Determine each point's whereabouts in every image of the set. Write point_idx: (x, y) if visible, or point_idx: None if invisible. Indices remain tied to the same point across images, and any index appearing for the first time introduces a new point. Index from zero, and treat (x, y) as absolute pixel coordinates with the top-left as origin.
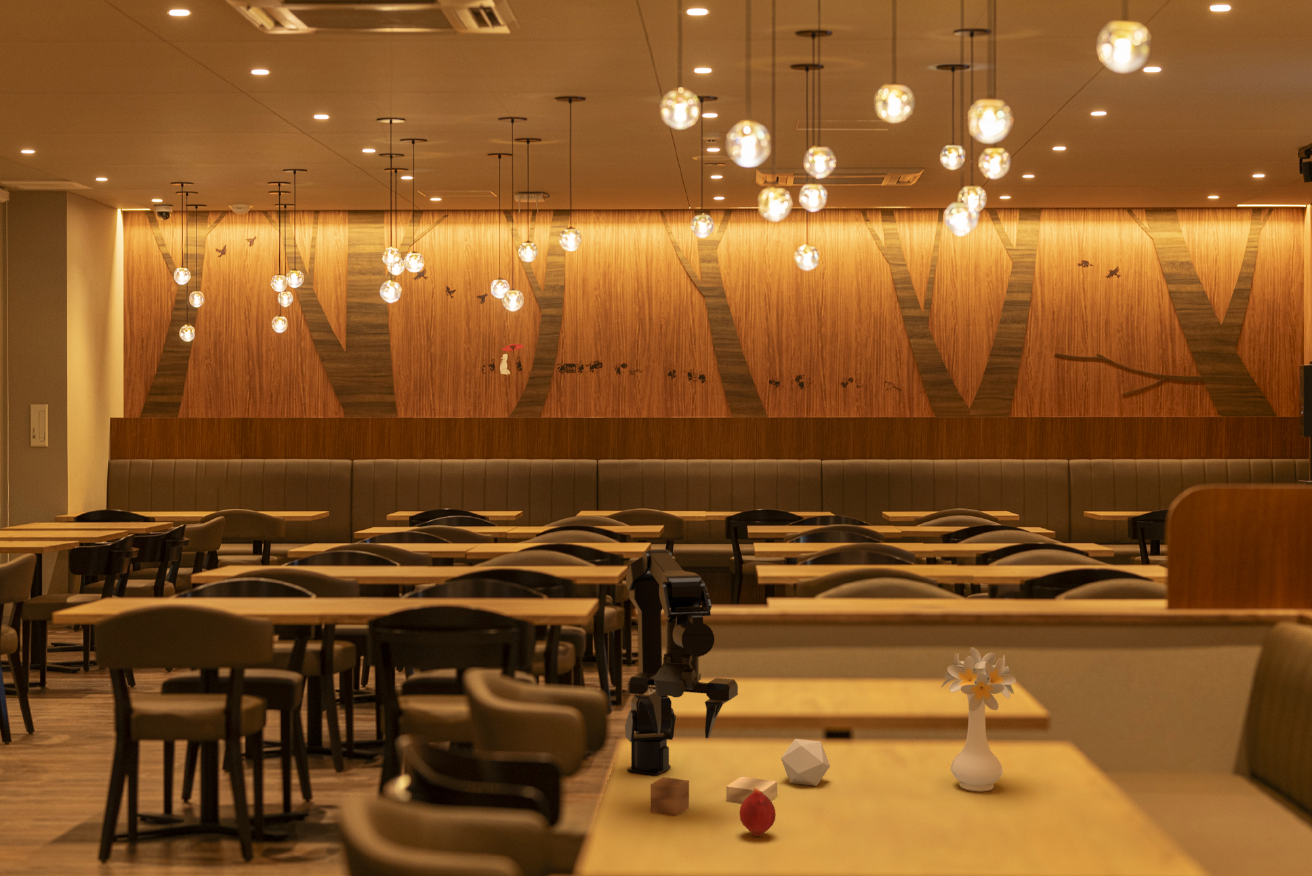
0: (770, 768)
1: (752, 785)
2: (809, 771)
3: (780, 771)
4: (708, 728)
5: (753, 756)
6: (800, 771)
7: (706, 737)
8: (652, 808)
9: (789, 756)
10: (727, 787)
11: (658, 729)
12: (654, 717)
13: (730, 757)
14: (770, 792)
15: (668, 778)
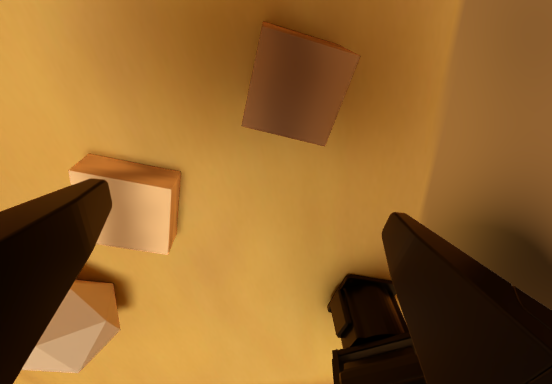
0: (175, 329)
1: (116, 207)
2: None
3: (155, 322)
4: (34, 204)
5: (218, 360)
6: None
7: (97, 180)
8: (335, 44)
9: (80, 322)
10: (168, 187)
11: (397, 232)
12: (470, 273)
13: (247, 353)
14: None
15: (307, 134)
